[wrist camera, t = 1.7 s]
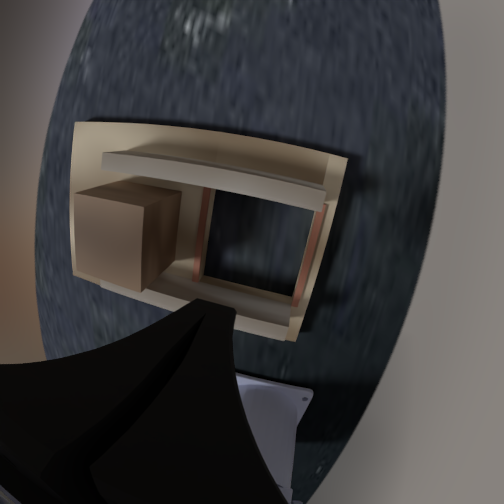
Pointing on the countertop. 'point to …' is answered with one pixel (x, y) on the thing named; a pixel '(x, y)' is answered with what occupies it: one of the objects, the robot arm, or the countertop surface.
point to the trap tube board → (201, 206)
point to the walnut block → (126, 232)
